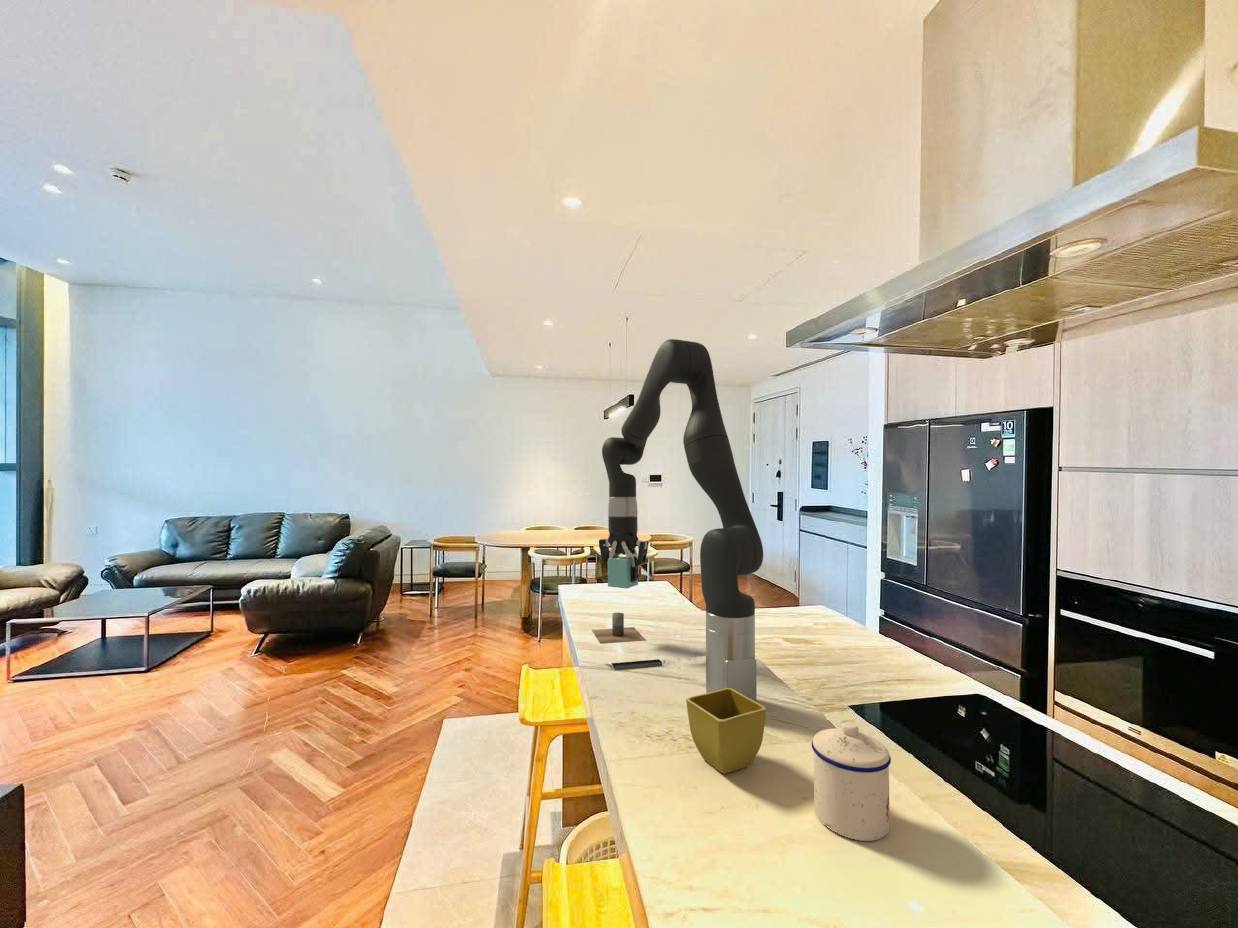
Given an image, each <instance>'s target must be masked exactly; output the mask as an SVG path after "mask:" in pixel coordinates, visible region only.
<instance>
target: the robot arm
mask: <svg viewBox="0 0 1238 928" xmlns="http://www.w3.org/2000/svg"><path fill="white" fill-rule="evenodd" d="M669 383H673V384H682V385H683V384H684V385H686V386H687V388H688V391H689V395H690V401H691V412H690V415H689V418H688V420H687V423H686V426H685V430H684V433H683V438H682V441H683V443H682V444H683V448H684V452H685V457H686V461H687V464H688V469H689V471H690V473H691V475H692V476H693V478H694V480H695V482H697V484H698V486H700V488H702V491H704V492H705V494H706V495H707V496H708V498H710V500H711V501H712V502H713V504H714V506H715V508H716V510H717V513H718V515H719V517H720V521H721V524H722V527H721V528H714V529H711V530H709V531H707V532H706V533H705V534H704V536H703V537H702V540H701V542H700V543H701V544H700V548H699V549H700V551H699V559H700V560H699V561H700V577H701V592H702V597H703V599H704V602H705V694H706V693H710V692H713V691H717V690H721V689H725V688H731V689H733V690H735V691H737V692H739V693H741V694H742V695H744V696H746V697H748V698H749V699H751V700H753V701H755V702H757V703H758V701H757V690H758V689H757V688H758V687H757V684H758V683H757V659H756V603H755V599H754V598H753V597H752V596H751V595H749V594H747V593H743V592H741V591H740V588H739V580H738V576H744V575H750V574H754V573H756V572H757V571H758V570H759V569H760V568H761V566H762V565H763V561H764V548H763V547H764V545H763V543H762V539H761V536H760V534H759V530H758V528H757V526H756V523H755V520H754V518H753V515H752V513H751V510H750V507H749V504H748V502H747V500H746V497H745V493H744V490H743V487H742V484H741V479H740V478H739V475H738V471H737V470H738V469H737V467H736V463H735V458H734V454H733V451H732V447H731V443H730V439H729V437H728V433H727V430H726V428H725V423H724V419H723V415H722V412H721V408H720V403H719V399H718V392H717V388H716V383H715V376H714V369H713V363H712V358H711V356H710V353H709V351H708V348H707V347H706V346H705V345H704V344H702V343H700V342H696V341H689V340H683V339H675V338H673V339H672V338H670V339H667V340H665V341H663V342H662V343H661V344H660V346H659V348H658V349H657V351H656V353H655V355H654V358H653V359H652V362H651V364H650V367H649V370H648V372H647V374H646V378H645V380H644V382H643V386H642V387H641V390H640V393H639V396H638V398H637V401H636V402H635V404H634V406H633V407H632V408H631V409H632V410H631V411H630V412H629V414H628V416H627V417H626V419H625V421H624V423H622V426H621V429H620V430H621V436H622V437H613V436H612V437H608V438H607V439H605V441H604V442H603V445H602V448H601V454H602V455H601V456H602V460H603V463H604V466H605V470H606V474H607V479H608V483H609V484H608V495H609V497H608V505H607V506H608V507H607V508H608V509H607V514H608V515H607V517H608V519H607V520H608V521H607V522H608V533H609V535H608V538H601V539H599V540H598V545H599V553H600V558H601V562H602V563H605V564H606V565H608V559H609V558H615V557H619V556H621V554H622V555H624V556H627V559H630V564H631V566H632V567H630V579H631V582H636V581H637V579H638V580H639V574H640V573H639V568H640V566H642V565H645V564H646V563H647V555H648V549H649V541H648V540H640V539H639V537H638V528H639V527H638V524H639V523H638V502H637V478H636V476H635V475H633V474H630V473H626V472H624V471H623V468H622V466H621V465H626V466H627V465H628V466H630V465H631V466H632V465H635V464H637V463H639V462H640V461H641V459H642V458H643V456H644V451H645V447H646V445H647V444H646V443H647V441H648V438H649V437H650V436H651V434H652V433H653V432H654V430H655V428H656V427H657V425H658V423H659V421H660V418H661V401H660V400H661V394H662V392H663V391H664V389H665V388H666V387H667V385H669ZM609 546H610V547H611V549H610V547H609ZM636 547H637V548H638V553H637V549H636Z"/></svg>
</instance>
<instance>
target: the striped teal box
mask: <svg viewBox="0 0 1238 928" xmlns="http://www.w3.org/2000/svg"><path fill="white" fill-rule="evenodd" d="M630 567H632V566H631V564H630V559H627V556H626V555H624V556H621V555H620V556H619V557H615V558H609V559H608V564H607V587H608V588H609V587H610V588H616V589H617V588H618V589H619V588H620V589H625V590H626V589H630V588H633V587H636V586H638V585H639V578H638V579H637V581H636V582H631V579H630Z"/></svg>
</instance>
